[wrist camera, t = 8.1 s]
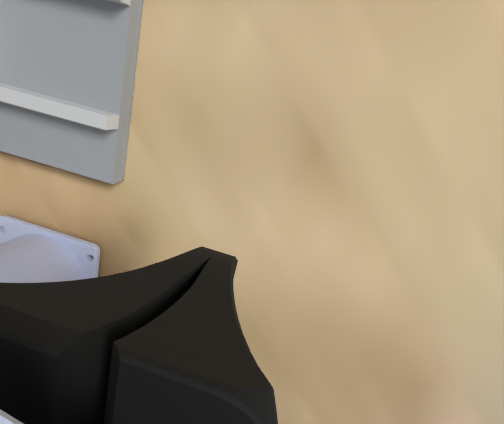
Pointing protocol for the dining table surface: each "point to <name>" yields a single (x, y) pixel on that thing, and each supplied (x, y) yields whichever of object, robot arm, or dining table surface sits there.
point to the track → (69, 82)
